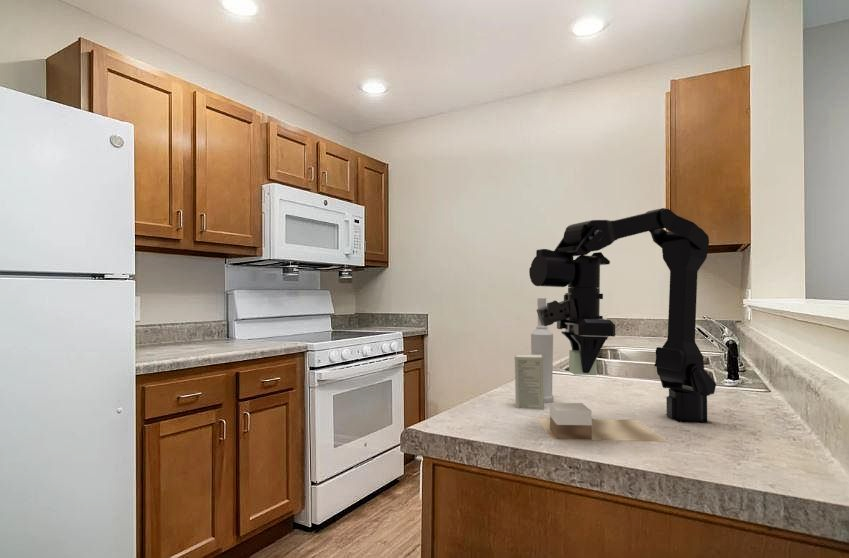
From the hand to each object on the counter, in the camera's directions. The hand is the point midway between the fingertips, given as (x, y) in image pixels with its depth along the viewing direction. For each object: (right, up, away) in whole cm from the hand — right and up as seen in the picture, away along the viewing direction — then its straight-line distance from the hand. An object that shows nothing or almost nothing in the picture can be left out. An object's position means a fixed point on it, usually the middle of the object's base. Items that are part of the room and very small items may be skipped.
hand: (582, 371), depth 89 cm
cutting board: (+3, -12, +1) cm, 12 cm away
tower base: (-3, -11, -3) cm, 12 cm away
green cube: (0, 0, 0) cm, 0 cm away
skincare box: (-6, -12, +18) cm, 23 cm away
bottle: (-2, -13, +24) cm, 27 cm away
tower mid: (-3, -9, -3) cm, 9 cm away
